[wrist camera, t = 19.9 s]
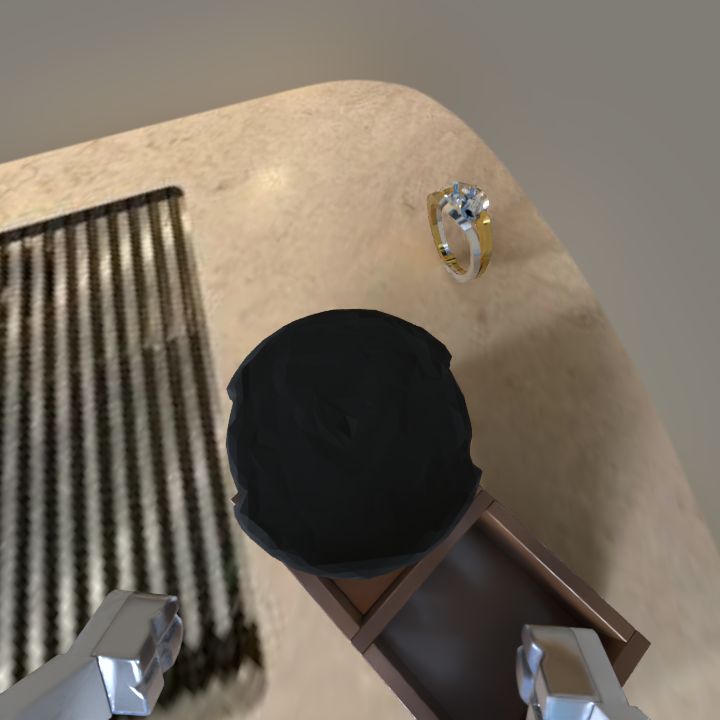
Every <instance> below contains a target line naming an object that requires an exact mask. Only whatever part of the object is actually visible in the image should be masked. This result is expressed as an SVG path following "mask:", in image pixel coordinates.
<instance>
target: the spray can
mask: <svg viewBox="0 0 720 720" xmlns="http://www.w3.org/2000/svg"><path fill="white" fill-rule="evenodd" d="M451 358H452V355H451V354H450V352H449V351H448V349H447V348H446V346H445V345H444V344H443V343H441V342H440V341H439V340H437V339H436V338H435V337H434V336H432V335H431V334H430V333H429V332H427V331H426V330H425V329H423V328H422V327H419V326H416V325H414V324H412V323H410V322H407V321H405V320H403V319H401V318H399V317H396V316H393V315H390V314H387V313H384V312H381V311H377V310H367V309H336V310H329V311H324V312H320V313H317V314H313V315H309V316H307V317H304V318H301V319H298V320H295V321H293V322H291V323H289V324H287V325H285V326H283V327H282V328H280V329H279V330H278V331H276V332H275V333H273V334H272V335H270V336H269V337H267V338H266V339H264V340H263V341H262V342H261V343H260V344H259V345H258V346H257V347H256V348H255V349H254V350H253V351H252V352H251V353H250V354H249V355H248V356H247V357H246V358H245V360H244V361H243V362H242V364H241V365H240V366H239V368H238V369H237V371H236V372H235V374H234V375H233V377H232V379H231V381H230V383H229V385H228V387H227V392H228V395H229V398H230V400H232V401H233V405H232V410H231V414H230V419H229V424H228V429H227V438H226V448H227V454H228V460H229V465H230V471H231V474H232V477H233V480H234V483H235V485H236V488H237V490H238V499H239V501H238V502H237V504H236V505H235V506H234V514H235V518H236V520H237V521H238V523H239V525H240V527H241V529H242V530H243V531H244V532H245V533H246V534H247V535H248V536H249V537H250V538H251V539H252V540H253V541H254V542H255V543H257V544H258V545H259V546H260V547H261V548H262V549H264V550H265V551H266V552H267V553H268V554H270V555H271V556H272V557H274V558H276V559H278V560H279V561H281V562H283V563H285V564H287V565H288V566H290V567H292V568H294V569H296V570H298V571H302V572H305V573H308V574H311V575H315V576H322V577H328V578H335V579H350V580H357V579H371V578H374V577H378V576H381V575H385V574H388V573H391V572H393V571H396V570H399V569H401V568H404V567H407V566H409V565H411V564H414V563H416V562H418V561H421V560H422V559H423V558H424V557H426V556H427V555H428V554H429V553H430V552H431V551H433V550H434V549H435V548H436V547H437V546H439V545H440V544H441V543H442V542H443V541H444V540H445V539H447V538H448V537H449V535H450V534H451V533H452V531H453V530H454V528H455V527H456V526H457V524H458V523H459V522H460V520H461V519H462V518H463V516H464V515H465V513H466V512H467V510H468V509H469V507H470V506H471V504H472V502H473V500H474V497H475V495H476V492H477V489H478V485H479V482H480V478H481V475H482V470H481V469H480V468H478V467H477V466H476V465H474V464H473V463H472V460H471V457H470V444H471V440H472V427H471V422H470V418H469V414H468V410H467V406H466V403H465V399H464V396H463V394H462V392H461V390H460V388H459V386H458V384H457V382H456V380H455V378H454V376H453V374H452V372H451V371H450V369H449V367H450V361H451Z"/></svg>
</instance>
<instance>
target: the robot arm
mask: <svg viewBox="0 0 720 720" xmlns="http://www.w3.org/2000/svg"><path fill="white" fill-rule="evenodd" d="M179 607H180V605H179V601H178V596H171V595H162V594H153V593H144V592H135V591H124V590H113V591H112V592H111V593H110V594H108V595H107V596H106V598H105V599H104V601H103V602H102V603H101V605H100V606H99V608H98V609H97V611H96V612H95V613H94V615H93V616H92V618H91V619H90V621H89V622H88V623H87V625H86V626H85V628H84V629H83V631H82V632H81V633H80V635H79V636H78V638H77V639H76V641H75V642H74V643H73V645H72V646H71V648H70V649H69V651H68V652H67V653H66V654H59V655H57V656H56V657H54V658H53V659H51V660H50V661H48V662H47V663H45V664H44V665H42V666H41V667H40V668H38V669H37V670H35V671H34V672H32V673H31V674H29V675H28V676H26V677H25V678H23V679H22V680H20V681H19V682H17V683H16V684H14V685H13V686H11V687H10V688H9V689H7V690H6V691H4V692H3V693H1V694H0V720H108V719H109V718H110V717H111V716H112V714H111V713H113V714H128V715H143V716H150V714H151V712H152V710H153V707H154V705H155V703H156V701H157V699H158V697H159V695H160V692H161V690H162V688H163V686H164V681H163V676H162V674H163V673H164V672H165V671H166V670H167V669H169V668H170V667H171V666H172V665H173V664H174V662H175V660H176V657H177V655H178V653H179V650H180V646H181V642H182V638H183V623H182V620H181V619H180V618H179V617H178V616H177V615H176V613H177V611H178V609H179ZM520 635H521V639H522V643H523V645H522V646H520V647H519V648H518V649H517V654H516V678H517V685H518V689H519V693H520V697H521V698H522V699H523V700H524V701H525V703H526V704H527V705H528V710H527V714H526V720H650V719H649V718H648V717H647V716H646V715H645V714H644V713H643V712H642V711H641V710H640V709H639V708H638V707H636V706H629V703H628V701H627V699H626V697H625V695H624V692H623V690H622V688H621V686H620V683H619V681H618V679H617V677H616V675H615V672H614V670H613V668H612V666H611V664H610V661H609V659H608V657H607V655H606V652H605V650H604V648H603V646H602V644H601V641H600V639H599V637H598V635H597V633H596V632H595V631H594V630H593V629H585V628H572V627H567V626H552V625H537V624H524V625H523V627H522V630H521V634H520Z"/></svg>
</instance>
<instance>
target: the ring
mask: <svg viewBox="0 0 720 720" xmlns="http://www.w3.org/2000/svg"><path fill="white" fill-rule="evenodd" d="M450 193H452V194H451V197H449V196H448V195H449V194H450ZM460 194H462V195H464V196H460ZM472 200H474V202H472ZM488 206H489V201H488V198H487V196H486V195H485V193H484V192H483V191H481V190H480V189H478V188H477V186H476V185H469V184H465V183H461V182H457V181H455V182H454V183H451V184H449V185H446V186H443V187H442V188H441V189H440V190H439V191H436V192H433V193H431V194H429V195H428V197H427V211H428V218H429V223H430V228H431V232H432V236H433V239H434V242H435V245H436V248H437V251H438V253H439V255H440V258H441V260H442V265H443V267H444V269H445V270H447V271H448V272H449V274H450V275H451V276H452V277H453V278H454V279H455V280H457V281H459V282H466V281H470V280H473V279H476V278H478V277H480V276H481V275H482V274H483V273H484V271H485V270H486V268H487V266H488V264H489V261H490V258H491V253H492V230H491V224H490V220H489V216H488V213H487V209H488ZM442 209H443V211H444V212H445V213H446V214H447V215H448V216H449V217H450V218H451V219H452V220H453V221H454V222H455V223H456V224H457V225H458V226H459V227H460V229H461V230H462V231H463V233H464V235H465V236H466V238H467V241H468V244H469V248H470V266H469V269H468V271H465V270H463V269H462V268H461V267H460V266H459V265H458V264H457V260H456V257H455V255H454V254H453V253H452V254H451V252H450V250H449V247H448V245H447V242H446V239H445V235H444V231H443V225H442ZM475 224H476V226H477V229H478V234H479V241H480V244H479V241H478V238H477V235H476V233H475V231H474V230H473V228H472V227H471V225H475Z"/></svg>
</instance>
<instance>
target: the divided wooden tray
mask: <svg viewBox="0 0 720 720" xmlns="http://www.w3.org/2000/svg"><path fill="white" fill-rule="evenodd" d="M493 500H494V499H493V498H492V497H491V496H490V495H489V494H488V493H487V492H486V491H485V490H483V489H482V487H481V486H480V485H478V489H477V492H476V495H475V497H474V500H473V502H472V504H471V506H470V507H469V509H468V510H467V512H466V513H465V515H464V516H463V518H462V519H461V520H460V522H459V523H458V524H457V526H456V527H455V528H454V530H453V531H452V533H451V534H450V535H449V537H448V538H447V539H445V540H444V541H443V542H442V543H441V544H440V545H439V546H437V547H436V548H435V549H434V550H433V551H431V552H430V553H429V554H428V555H427V556H426V557H424V558H423V559H422V560H421V561H418V562H416V563H414V564H411V565H409V566H407V567H404V568H401V569H399V570H396V571H393V572H391V573H388V574H385V575H381V576H378V577H374V578H371V579H357V580H350V579H335V578H328V577H322V576H315V575H311V574H308V573H305V572H302V571H298V570H296V569H294V568H292V567H290V566H288V565H287V564H285V563H283V564H284V565H285V566H286V567H287V568H288V570H289V571H290V572H291V573H292V574H293V575H294V577H295V578H296V579H297V580H298V581H299V583H300V584H301V585H302V586H303V587H304V588H305V590H306V591H307V592H308V593H309V594H310V596H311V597H312V598H313V599H314V600H315V601H316V603H317V604H318V605H319V606H320V607H321V609H322V610H323V611H324V612H325V613H326V614H327V616H328V617H329V618H330V619H331V620H332V622H333V623H334V624H335V625H336V626H337V628H338V629H339V630H340V631H341V632H342V633H343V635H344V636H345V637H346V638H347V639H348V640H349V641H350V640H351V641H350V642H351V644H352V645H353V646H354V648H355V649H356V650H357V651H358V652H359V653H360V654H362V657H363V658H364V659H365V661H366V662H367V663H368V664H369V665H370V667H371V668H372V669H373V670H374V671H375V672H376V674H377V675H378V676H379V677H380V678H381V680H382V681H383V682H384V683H385V684H386V685H387V687H388V688H389V689H390V690H391V691H392V693H393V694H394V695H395V696H396V697H397V698H398V700H399V701H400V702H401V703H402V704H403V706H404V707H405V708H406V709H407V710H408V711H409V713H410V714H411V715H412V716H413V717H414V719H415V720H526V714H527V710H528V705H527V704H526V703H525V701H524V700H523V699H522V698H521V697H520V693H519V689H518V685H517V678H516V654H517V649H518V648H519V647H520V646H522V645H523V643H522V639H521V635H520V634H521V630H522V627H523V625H524V624H537V625H552V626H567V627H572V628H585V629H593V630H594V631H595V632H596V633H597V635H598V637H599V639H600V641H601V644H602V646H603V648H604V650H605V652H606V655H607V657H608V659H609V661H610V664H611V666H612V668H613V670H614V672H615V675H616V677H617V679H618V681H619V683H620V686H621V688H622V687H623V686H624V684H625V682H626V681H627V679H628V678H629V676H630V675H631V673H632V672H633V670H634V669H635V667H636V666H637V664H638V663H639V661H640V660H641V658H642V657H643V655H644V654H645V652H646V650H647V649H648V647H649V646H650V644H651V643H650V642H649V641H648V640H647V639H646V638H645V637H644V636H643V635H642V634H640V633H639V632H638V631H637V630H635V628H634V627H633V626H632V625H630V624H629V623H628V622H627V621H626V620H625V619H624V618H623V617H622V616H621V615H620V614H619V613H617V612H616V611H615V610H614V609H613V608H612V607H611V606H610V605H609V604H608V603H607V602H605V601H604V600H603V599H602V598H601V597H600V596H599V595H598V594H597V593H596V592H595V591H594V590H592V589H591V588H590V587H589V586H588V585H587V584H586V583H585V582H584V581H583V580H582V579H580V578H579V577H578V576H577V575H576V574H575V573H574V572H573V571H572V570H571V569H570V568H569V567H567V566H566V565H565V564H564V563H563V562H562V561H561V560H560V559H559V558H558V557H557V556H555V555H554V554H553V553H552V552H551V551H550V550H549V549H548V548H547V547H546V546H545V545H544V544H542V543H541V542H540V541H539V540H538V539H537V538H536V537H535V536H534V535H533V534H532V533H530V532H529V531H528V530H527V529H526V528H525V527H524V526H523V525H522V524H521V523H520V522H518V521H517V520H516V519H515V518H514V517H513V516H512V515H511V514H510V513H509V512H508V511H507V510H505V509H504V508H503V507H502V506H501V505H500V504H499V503H498V502H497V501H496V500H494V501H493ZM238 501H239V499H238V493H237V494H236V495H235V496H234V497H233V498H232V499H231V502H232V503H233V504H234V506H235V505H236V504H237V502H238Z"/></svg>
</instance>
